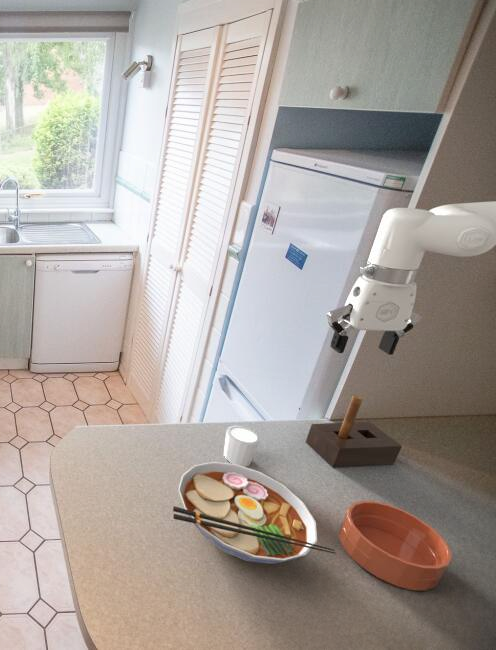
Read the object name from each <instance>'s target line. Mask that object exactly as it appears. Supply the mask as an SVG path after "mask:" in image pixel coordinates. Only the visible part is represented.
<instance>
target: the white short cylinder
mask: <svg viewBox="0 0 496 650" xmlns="http://www.w3.org/2000/svg"><path fill="white" fill-rule="evenodd" d="M260 443H261V437H260V435H259V433H257V432H256V431H254V430H253V429H251V428H249V427H246V426H243V425H234V424H233V425H230V426H228V427H227V428H226V432H225V440H224V447H223V457H224V456H225V458H226V459H227V460H228V461H229V462H230V463H232V464H237V465H240V466H243V467H246V468H247V467H249V466H250V465H251V463H252V460H253V459H254V457H255V454H256V452H257V449H258V447H259V445H260ZM225 458H224V459H225ZM226 459H225V460H226ZM227 460H226V461H227ZM228 461H227V462H228ZM229 462H228V463H229ZM249 464H250V465H249Z"/></svg>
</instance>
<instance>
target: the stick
mask: <svg viewBox="0 0 496 650" xmlns="http://www.w3.org/2000/svg"><path fill="white" fill-rule="evenodd" d="M363 400H364V397H362V396H361V395H358V394H353V395H352V397H351V399H350V402H349V405H348V406H347V410H346V412H345V415H344V418H343V421H342V422H341V423H342V426H341V429H340V431H339V434H338V436H339V437H340V438H341V439H348V436H349V433H350V431H351V428H352V426H353V423H354V422H356V417H357V415H358V413H359V410H360V407H361V405H362V402H363Z"/></svg>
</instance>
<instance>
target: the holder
mask: <svg viewBox="0 0 496 650" xmlns="http://www.w3.org/2000/svg"><path fill="white" fill-rule="evenodd" d="M342 423H343V422H327V423H324V422H323V423H311V425H310V428H309V431H308V433H307V436H306V438H305V444H307V445H308V446H309V448H311V449H312V450H313V451H314V452H315V453H316V454H317V455H318V456H320V457H321V458H322V459H323V461H325V462H326V463H327V464H328V465H329V466H330V467H331V468H333V469H334V468H353V467H354V468H355V467H375V466H393V465H395V463H396V460H397V458H398V456H399V453H400V452H401V449H402V447H403V445H402V444H401V443H400V442H398V441H396V440H395V439H394V438H392V436H390V435H388V434H387V433H386V432H384V431H383V430H381V429H380V428H379V427H377V426H376V425H375V424H373V422H370V421H354V423H353V426H352V428H351V431H350V433H349V436H348V439H341V438H340V437H339V436H338V434H339V431H340V429H341V426H342Z"/></svg>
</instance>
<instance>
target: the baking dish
mask: <svg viewBox="0 0 496 650" xmlns="http://www.w3.org/2000/svg"><path fill="white" fill-rule="evenodd" d="M338 538H339V541H340V543H341V545H342V548H343V549H344V550H345V551H346V552H347V554H348V555H349V556H350V558H351V559H352V560H353V561H355V562H356V563H357V564H358V565H359V566H360V567H362V568H363V569H364V570H366V571H367V572H368V573H370V574H372V575H373V576H374V577H376V578H378V579H380V580H382V581H384V582H386V583H389V584H391V585H393V586H396V587H399V588H402V589H407V590H411V591H428V590H431V589H433V588H436V587H437V585H438V583H439V582H440V580H441V578H442V576H443V575H444V574H445V571H446V570H447V569H448V566H449V564H450V563H451V562H452V560H453V556H452V551H451V547H450V546H449V545H448V543H447V541H445V538H443V536H442V535H440V533H439V532H438V531H436V530H435V529H434V528H433V527H432V526H430V524H428V523H426V522H425V521H423V520H422V519H421V518H419V517H417V516H416V515H413V514H411V513H410V512H408V511H406V510H405V509H402V508H400V507H396V506H394V505H391V504H388V503H385V502H381V501H380V502H379V501H375V500H359V501H356V502H354V503H352V504H351V505H350V506H349V507H348V508H347V510H346V513H345V515H344V518H343V520H342V522H341V524H340V527H339V532H338Z"/></svg>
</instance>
